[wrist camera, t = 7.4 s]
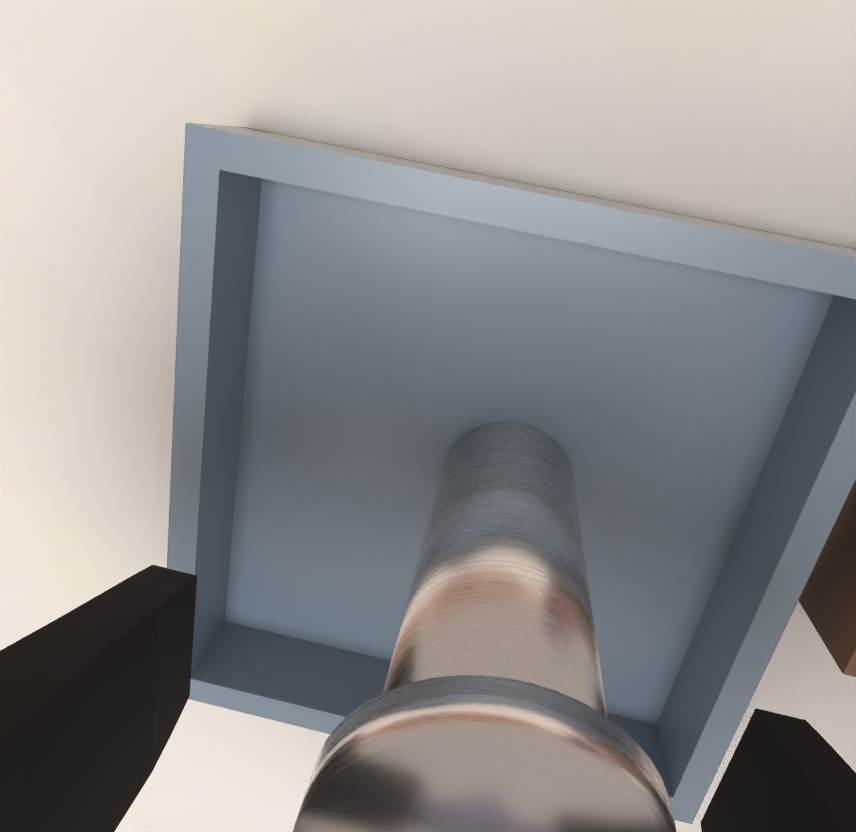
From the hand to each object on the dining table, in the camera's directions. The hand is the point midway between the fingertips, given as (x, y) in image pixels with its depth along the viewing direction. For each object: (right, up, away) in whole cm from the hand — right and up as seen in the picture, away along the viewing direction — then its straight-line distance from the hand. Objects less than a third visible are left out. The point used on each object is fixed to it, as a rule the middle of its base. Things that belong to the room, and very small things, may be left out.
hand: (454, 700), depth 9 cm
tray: (+1, +3, +6) cm, 7 cm away
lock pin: (+1, +2, +6) cm, 6 cm away
